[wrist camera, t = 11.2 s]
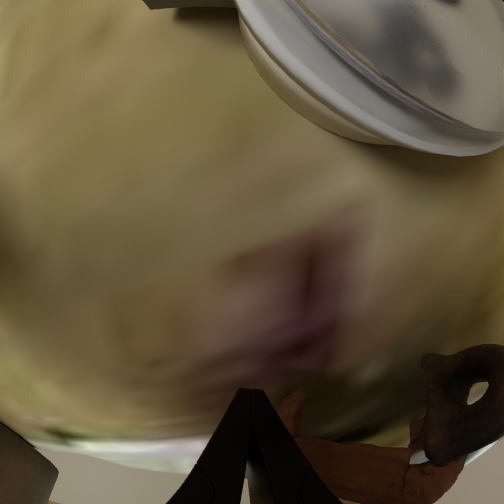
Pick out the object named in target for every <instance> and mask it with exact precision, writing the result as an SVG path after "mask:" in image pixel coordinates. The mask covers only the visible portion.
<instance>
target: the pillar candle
mask: <svg viewBox="0 0 504 504" xmlns="http://www.w3.org/2000/svg"><path fill="white" fill-rule="evenodd" d="M58 473H59V472H58V470H57V468H56V467H55V466H54V465H53V464H52V463H51V462H50V461H49V460H48V459H46V458H45V457H44V456H43V455H41V453H39V452H38V451H37V450H36V449H34V448H33V447H32V446H30V445H29V444H28V443H26V442H25V441H24V440H23V439H21V438H20V437H19V436H18V435H16V434H15V433H14V432H12V431H11V430H9V429H8V428H7V427H5V426H4V425H3V424H1V423H0V504H47V503H48V500H49V497H50V495H51V492H52V490H53V487H54V484H55V482H56V479H57V477H58Z"/></svg>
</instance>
